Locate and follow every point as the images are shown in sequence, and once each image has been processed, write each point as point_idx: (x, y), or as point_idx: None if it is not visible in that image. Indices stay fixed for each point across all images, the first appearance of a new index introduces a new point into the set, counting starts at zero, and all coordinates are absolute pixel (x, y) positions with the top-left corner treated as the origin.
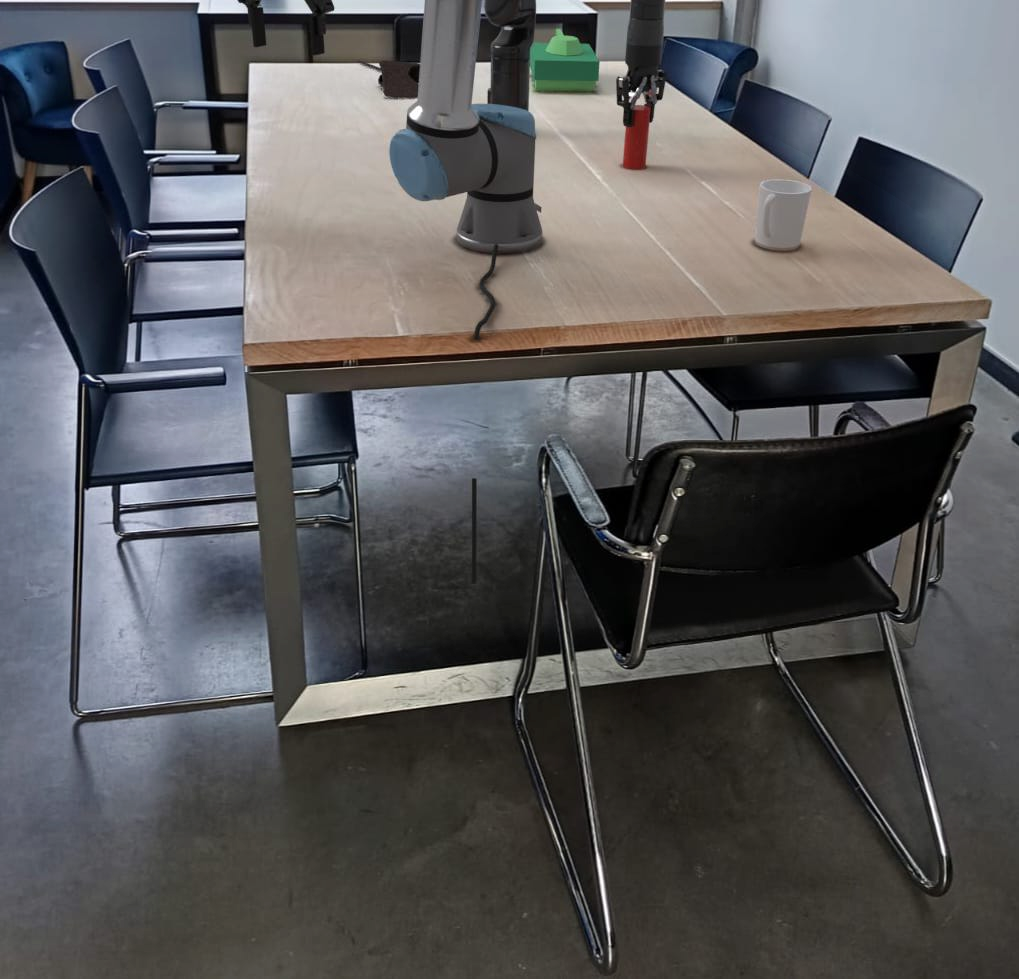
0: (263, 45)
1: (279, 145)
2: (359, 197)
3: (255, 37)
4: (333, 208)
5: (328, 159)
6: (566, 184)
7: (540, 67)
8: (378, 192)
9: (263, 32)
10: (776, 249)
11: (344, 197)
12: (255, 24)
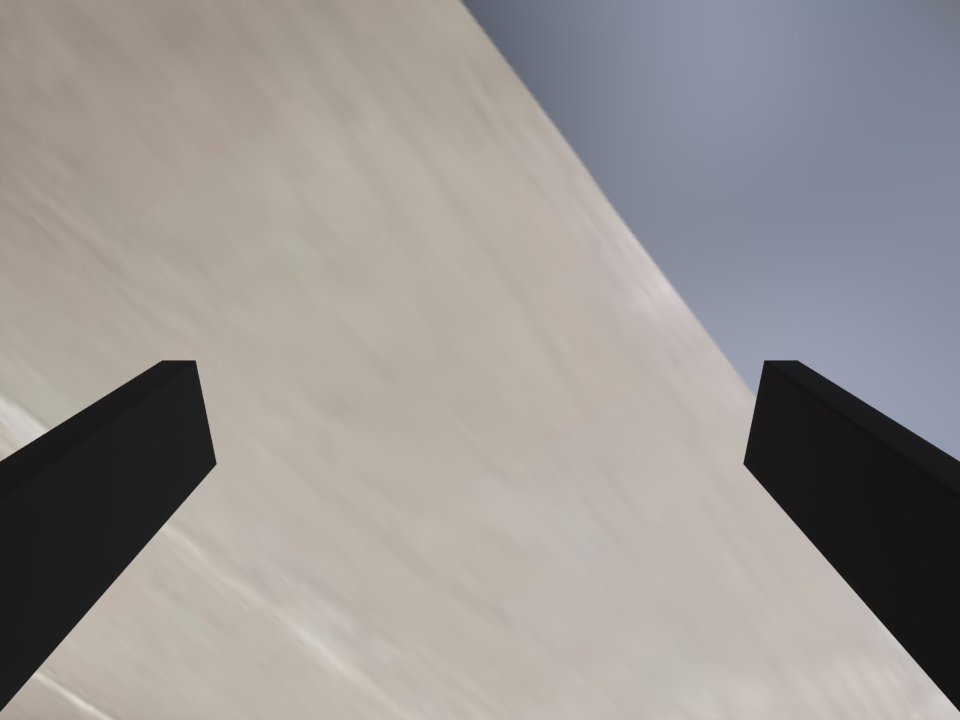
0: (750, 434)
1: (808, 569)
2: (371, 344)
3: (811, 390)
4: (361, 232)
5: (634, 541)
6: (89, 641)
7: None
8: (362, 400)
9: (800, 503)
10: None
11: (402, 323)
12: (885, 460)
